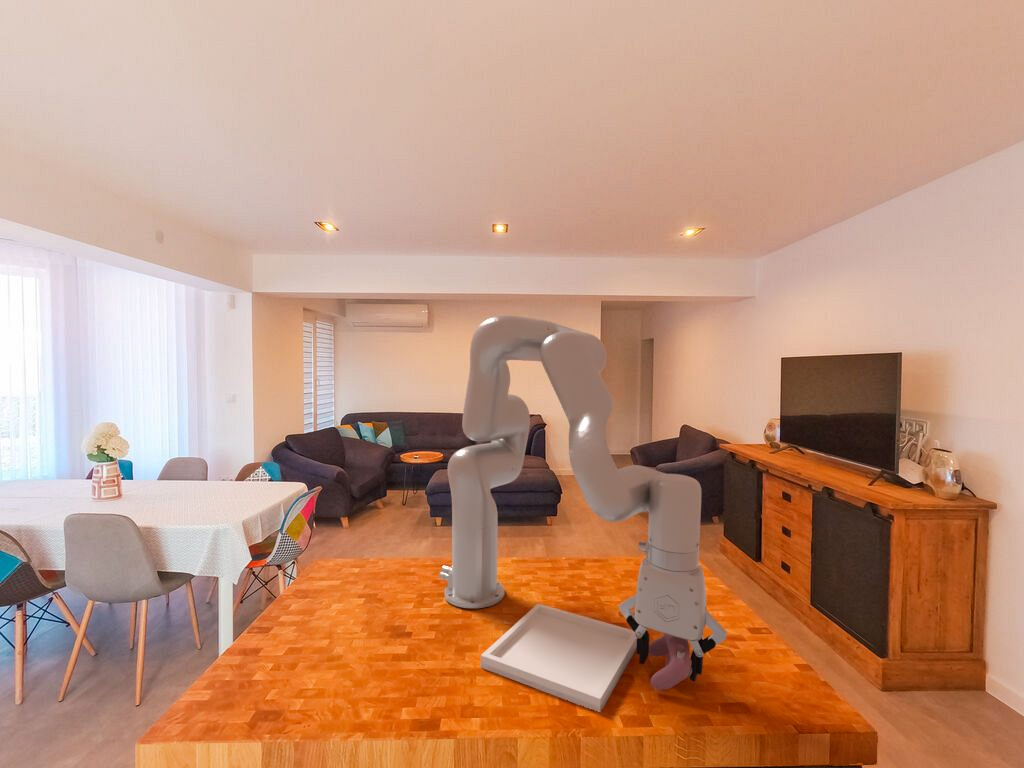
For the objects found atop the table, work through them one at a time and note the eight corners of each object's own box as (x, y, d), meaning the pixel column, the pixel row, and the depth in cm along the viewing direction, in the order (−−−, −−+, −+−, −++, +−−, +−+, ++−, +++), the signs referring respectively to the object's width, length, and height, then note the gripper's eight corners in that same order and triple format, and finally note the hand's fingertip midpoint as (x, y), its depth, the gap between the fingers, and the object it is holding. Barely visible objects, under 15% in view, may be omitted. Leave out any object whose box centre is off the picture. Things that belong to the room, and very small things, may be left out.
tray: (480, 667, 77) (480, 655, 77) (537, 613, 95) (537, 603, 95) (600, 713, 67) (600, 698, 67) (639, 643, 85) (639, 632, 85)
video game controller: (676, 705, 70) (701, 667, 69) (648, 687, 71) (672, 648, 70) (670, 664, 80) (691, 630, 79) (644, 648, 81) (665, 614, 80)
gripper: (610, 551, 76) (606, 662, 76) (731, 578, 67) (725, 703, 68) (624, 537, 82) (621, 639, 83) (736, 560, 73) (731, 674, 74)
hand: (668, 667), depth 75 cm, fingers closed on video game controller, 7 cm apart
